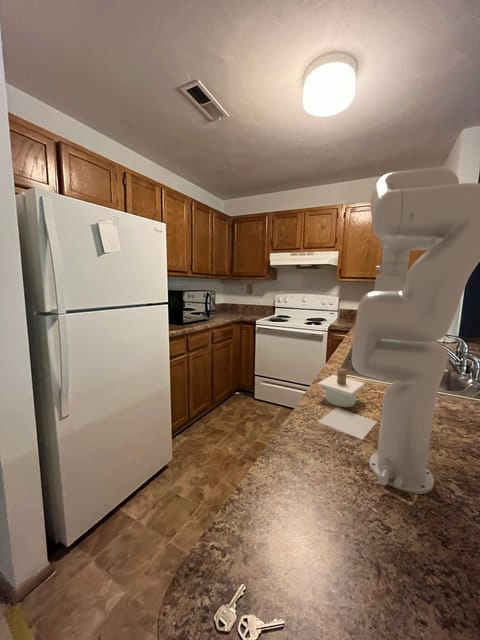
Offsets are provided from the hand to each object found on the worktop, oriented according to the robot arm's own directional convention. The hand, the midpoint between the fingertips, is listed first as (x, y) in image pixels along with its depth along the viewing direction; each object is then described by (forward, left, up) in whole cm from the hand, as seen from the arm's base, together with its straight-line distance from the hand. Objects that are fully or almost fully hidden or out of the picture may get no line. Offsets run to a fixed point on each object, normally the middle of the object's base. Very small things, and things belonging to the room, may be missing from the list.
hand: (388, 322), depth 88 cm
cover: (-5, +12, -24) cm, 27 cm away
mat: (-18, +4, -30) cm, 35 cm away
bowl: (-5, +12, -30) cm, 32 cm away
